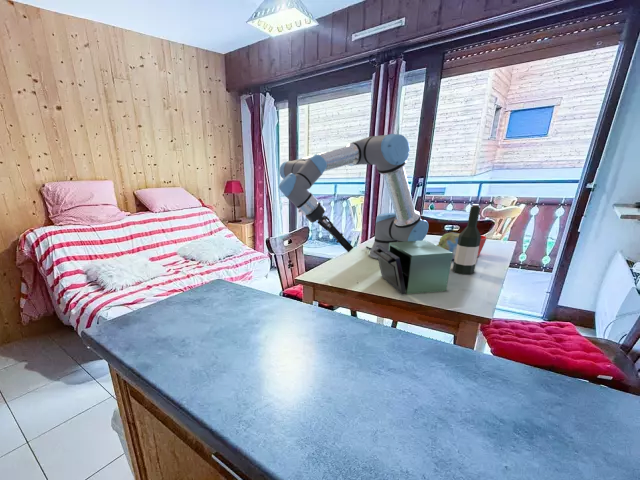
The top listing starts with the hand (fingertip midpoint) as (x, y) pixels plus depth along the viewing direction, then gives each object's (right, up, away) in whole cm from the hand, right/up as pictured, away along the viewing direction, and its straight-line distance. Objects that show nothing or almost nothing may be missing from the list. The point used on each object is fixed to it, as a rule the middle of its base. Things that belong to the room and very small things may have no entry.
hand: (350, 249), depth 132 cm
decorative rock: (+61, 0, +36) cm, 71 cm away
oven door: (+19, -15, +7) cm, 25 cm away
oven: (+29, -14, +7) cm, 33 cm away
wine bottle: (+57, -8, +17) cm, 60 cm away
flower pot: (+75, +2, +39) cm, 84 cm away
